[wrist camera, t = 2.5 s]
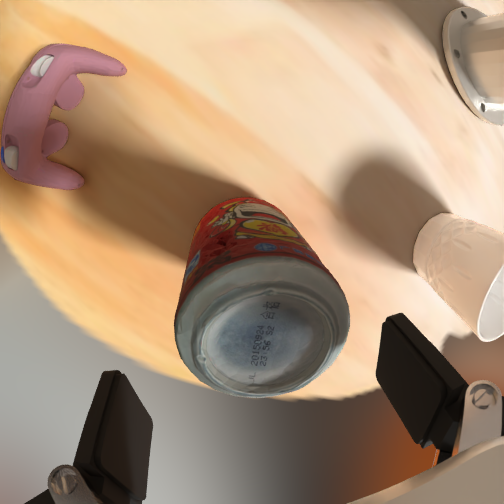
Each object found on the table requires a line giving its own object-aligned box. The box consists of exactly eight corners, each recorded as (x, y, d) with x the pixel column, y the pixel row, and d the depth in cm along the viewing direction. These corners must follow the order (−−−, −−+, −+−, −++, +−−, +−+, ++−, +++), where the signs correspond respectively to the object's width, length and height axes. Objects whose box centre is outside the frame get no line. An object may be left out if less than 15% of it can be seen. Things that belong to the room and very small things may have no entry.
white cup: (398, 286, 25) (462, 351, 16) (415, 203, 22) (500, 245, 13) (454, 280, 26) (516, 331, 17) (471, 208, 23) (546, 245, 14)
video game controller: (99, 58, 17) (30, 33, 10) (137, 64, 16) (59, 30, 9) (56, 174, 20) (-16, 176, 13) (86, 195, 19) (4, 201, 12)
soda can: (294, 193, 21) (377, 265, 10) (285, 282, 24) (335, 402, 12) (193, 190, 20) (161, 264, 9) (194, 281, 23) (180, 411, 11)
